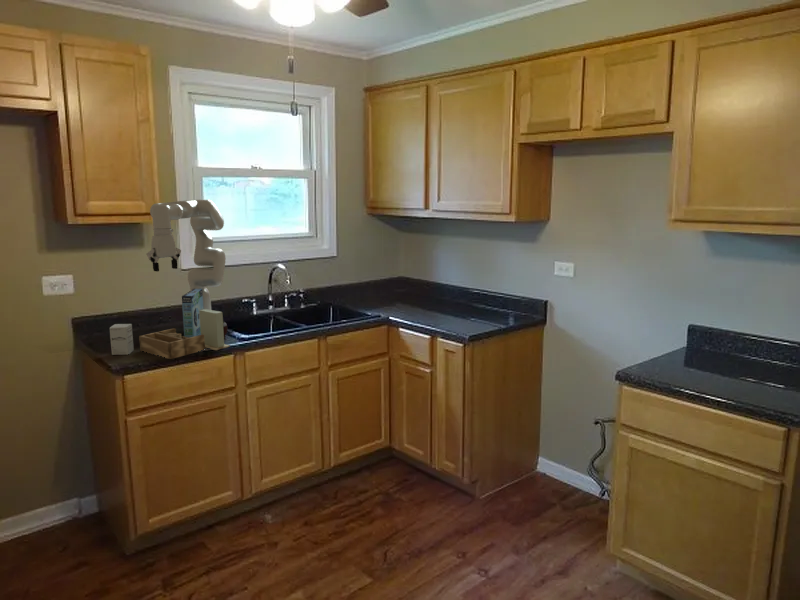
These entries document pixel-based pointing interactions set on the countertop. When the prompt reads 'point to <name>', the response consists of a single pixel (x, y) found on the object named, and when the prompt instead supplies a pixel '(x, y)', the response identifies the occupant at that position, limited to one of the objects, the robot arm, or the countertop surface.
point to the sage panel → (212, 327)
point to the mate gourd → (225, 329)
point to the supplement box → (121, 339)
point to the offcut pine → (175, 335)
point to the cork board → (216, 347)
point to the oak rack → (170, 344)
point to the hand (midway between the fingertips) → (165, 269)
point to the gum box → (192, 312)
